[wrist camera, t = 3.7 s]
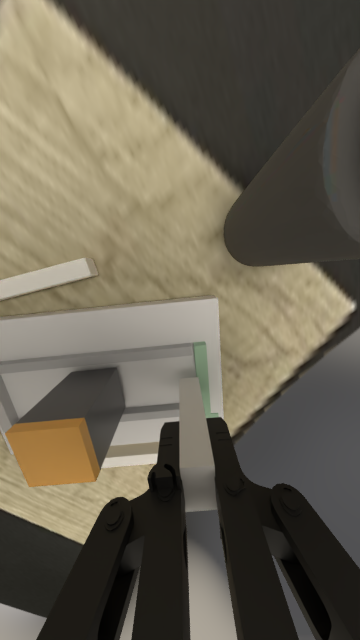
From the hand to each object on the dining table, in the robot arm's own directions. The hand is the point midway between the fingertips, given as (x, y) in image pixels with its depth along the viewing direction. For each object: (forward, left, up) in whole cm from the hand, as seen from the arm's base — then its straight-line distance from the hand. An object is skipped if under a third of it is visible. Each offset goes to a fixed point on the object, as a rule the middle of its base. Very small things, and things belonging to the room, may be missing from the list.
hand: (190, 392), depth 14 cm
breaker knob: (-8, 0, -2) cm, 8 cm away
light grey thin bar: (-14, +10, -4) cm, 17 cm away
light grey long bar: (-10, -10, -4) cm, 15 cm away
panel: (-8, 0, -4) cm, 9 cm away
